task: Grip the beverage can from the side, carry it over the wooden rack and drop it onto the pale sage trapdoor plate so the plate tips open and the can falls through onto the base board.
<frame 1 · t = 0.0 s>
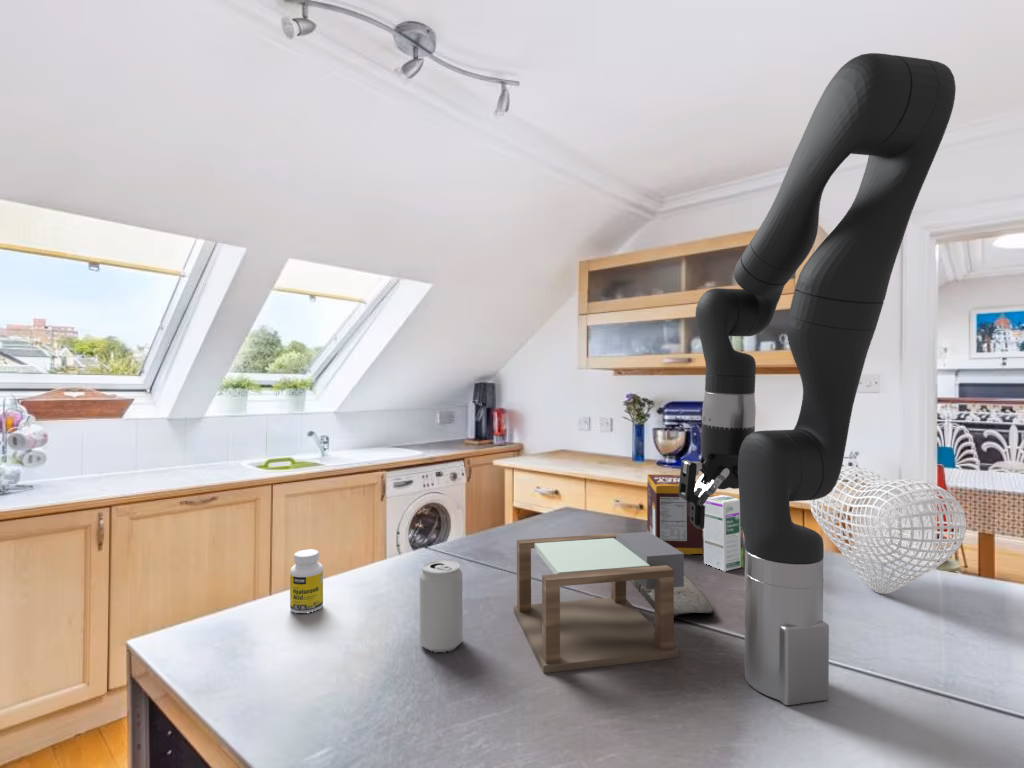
hand: (723, 526, 86), 17 cm above the kitchen island, tool pointing down, fingers open, 8 cm apart
supplement bottle: (306, 609, 97), on the kitchen island
supplement box: (673, 545, 133), on the kitchen island
heart: (879, 593, 103), on the kitchen island
wooden rack: (588, 632, 87), on the kitchen island
trapdoor plate: (606, 561, 88), point 11 cm above the kitchen island, hinge at 0.0°
syrup box: (723, 566, 118), on the kitchen island
stone slab: (661, 590, 106), on the kitchen island
beverage can: (441, 645, 84), on the kitchen island
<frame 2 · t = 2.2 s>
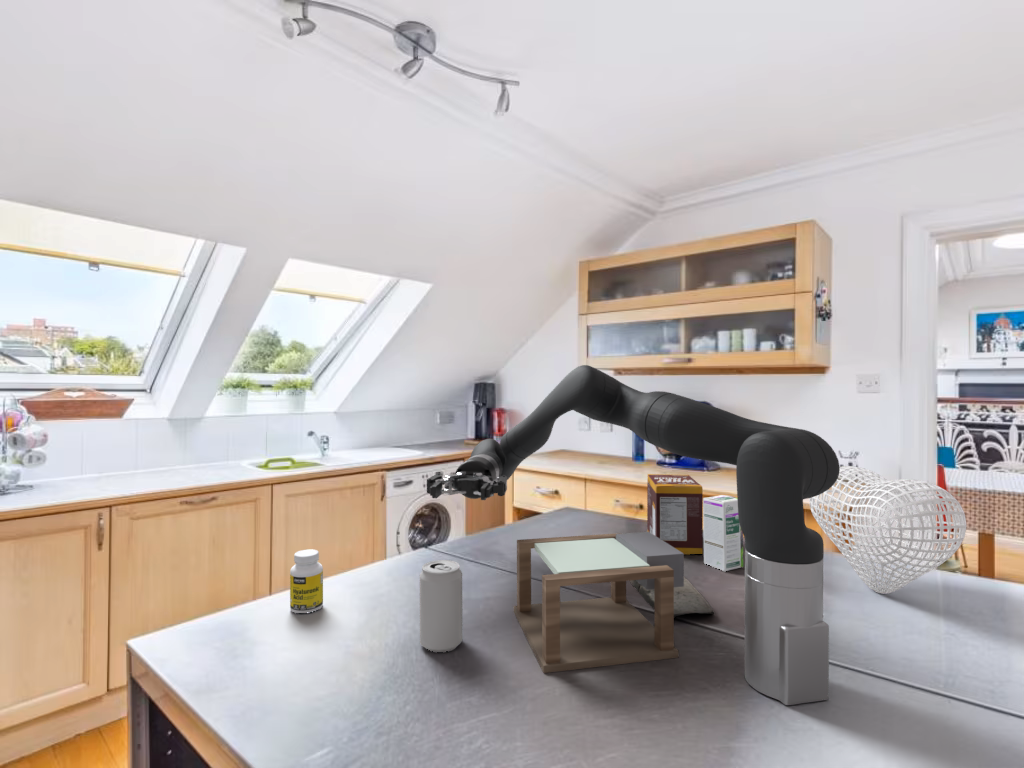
hand: (458, 493, 95), 20 cm above the kitchen island, tool horizontal, fingers open, 8 cm apart
nothing on the kitchen island moved.
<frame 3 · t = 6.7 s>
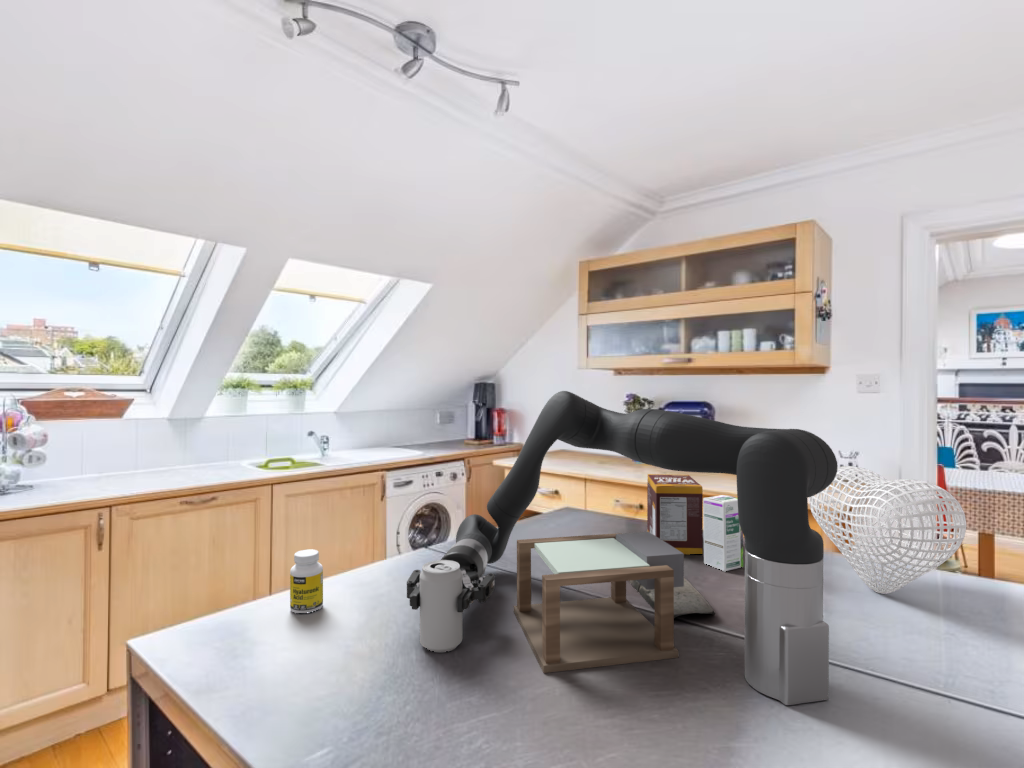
hand: (436, 604, 81), 7 cm above the kitchen island, tool horizontal, fingers closed on beverage can, 6 cm apart
beverage can: (441, 645, 84), on the kitchen island, touching gripper
everything else where it was.
when the fingers open (23 cm above the kitchen island, at t = 12.0 s): beverage can drops 5 cm, resting on trapdoor plate.
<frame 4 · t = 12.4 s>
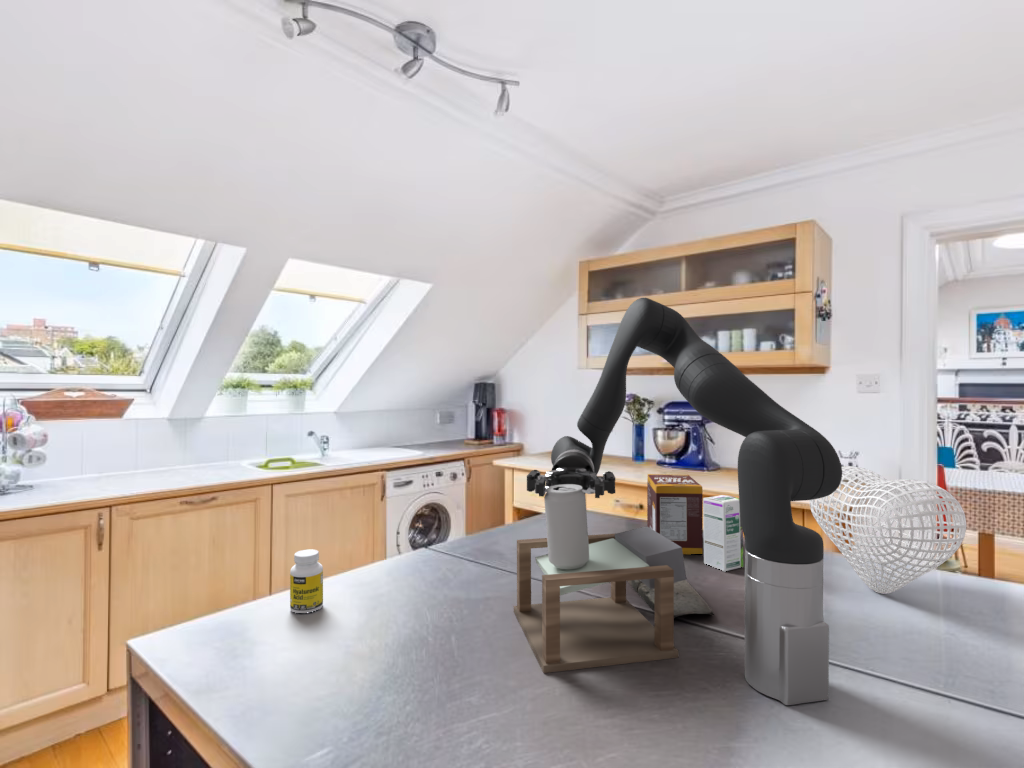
hand: (569, 490, 85), 23 cm above the kitchen island, tool horizontal, fingers open, 8 cm apart
trapdoor plate: (607, 565, 88), point 10 cm above the kitchen island, hinge at -9.6°, touching beverage can
beverage can: (569, 564, 87), point 11 cm above the kitchen island, touching gripper, trapdoor plate
everything else where it was.
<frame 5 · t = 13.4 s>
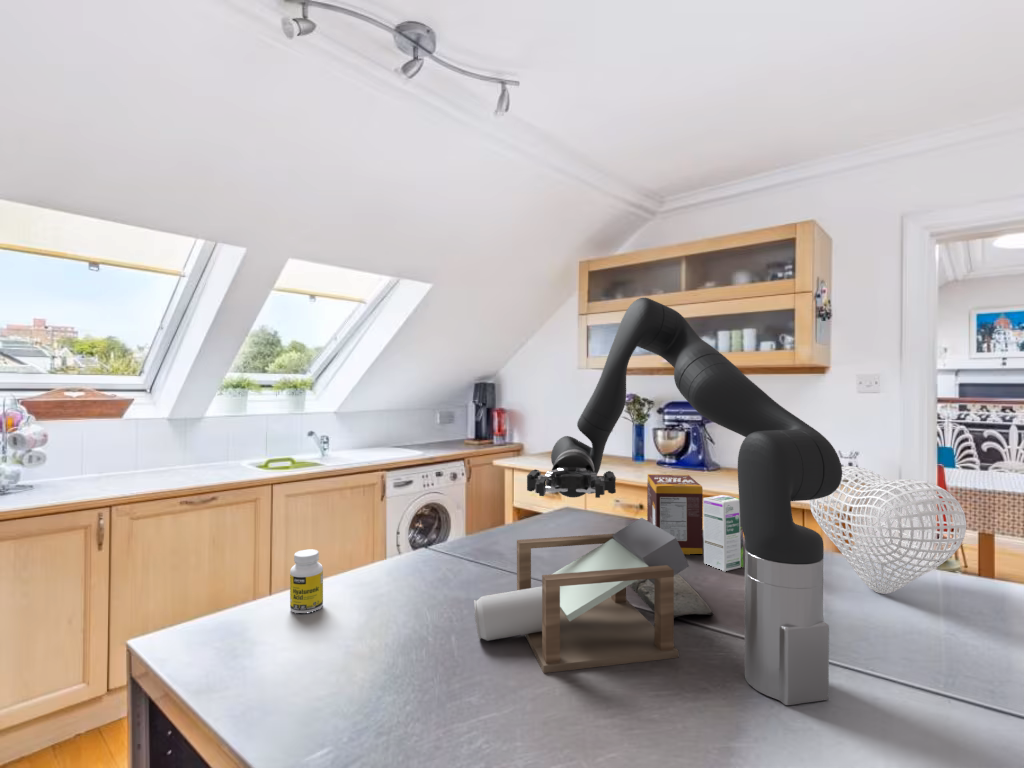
hand: (569, 490, 85), 23 cm above the kitchen island, tool horizontal, fingers open, 8 cm apart
trapdoor plate: (611, 571, 88), point 9 cm above the kitchen island, hinge at -26.4°, touching beverage can
beverage can: (553, 606, 86), point 5 cm above the kitchen island, touching wooden rack, trapdoor plate
everything else where it was.
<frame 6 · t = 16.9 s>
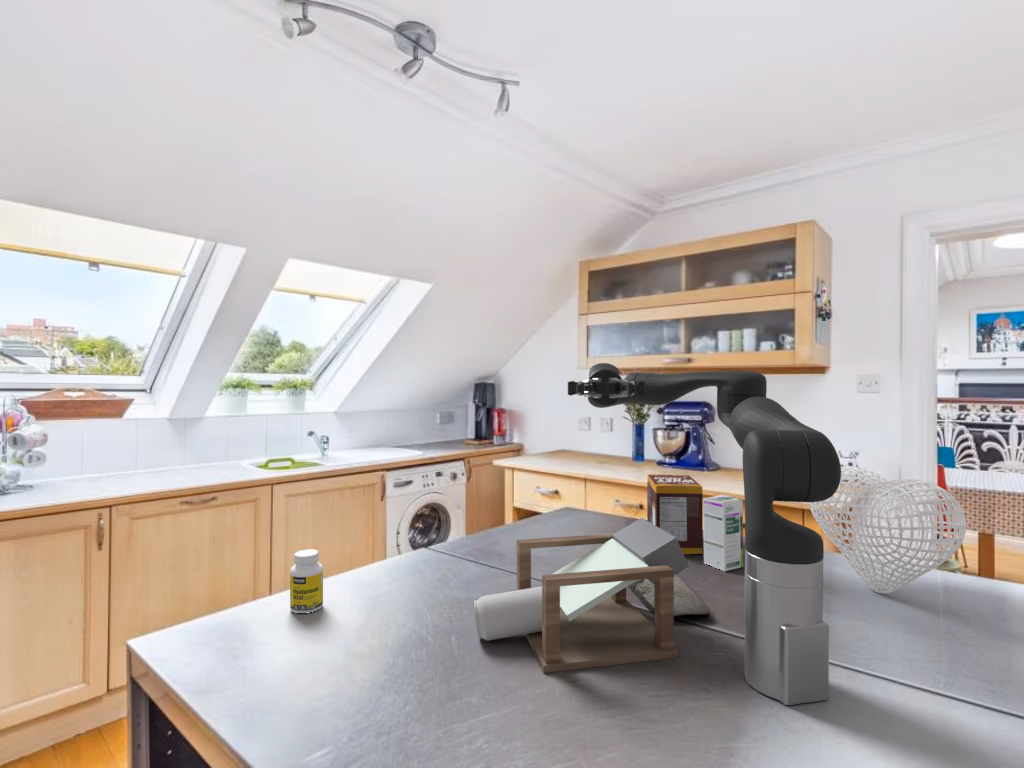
hand: (606, 389, 99), 38 cm above the kitchen island, tool horizontal, fingers open, 8 cm apart
at the end: beverage can inside the target area (4.8 cm from its centre), point 4.6 cm above the kitchen island; the gripper is holding nothing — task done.
